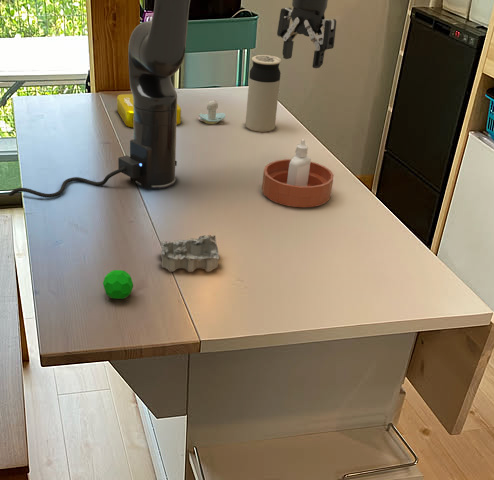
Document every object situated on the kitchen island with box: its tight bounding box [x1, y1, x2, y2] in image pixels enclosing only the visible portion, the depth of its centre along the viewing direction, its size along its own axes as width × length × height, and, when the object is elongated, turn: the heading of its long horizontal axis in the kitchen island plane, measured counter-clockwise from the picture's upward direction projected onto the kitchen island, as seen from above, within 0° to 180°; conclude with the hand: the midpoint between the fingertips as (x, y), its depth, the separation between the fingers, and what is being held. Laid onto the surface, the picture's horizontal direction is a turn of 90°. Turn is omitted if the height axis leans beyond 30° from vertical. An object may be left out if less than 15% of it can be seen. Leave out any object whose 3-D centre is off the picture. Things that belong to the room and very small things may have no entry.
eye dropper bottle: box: [287, 139, 312, 186], centre depth 155 cm, size 4×6×12 cm
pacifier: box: [198, 99, 226, 125], centre depth 192 cm, size 7×6×6 cm
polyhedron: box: [102, 269, 134, 300], centre depth 119 cm, size 5×5×5 cm
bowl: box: [261, 158, 335, 208], centre depth 157 cm, size 15×15×5 cm
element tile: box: [116, 93, 182, 129], centre depth 192 cm, size 15×15×5 cm
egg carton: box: [160, 234, 220, 273], centre depth 130 cm, size 11×8×4 cm
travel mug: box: [244, 54, 282, 133], centre depth 187 cm, size 8×8×18 cm
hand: (301, 63), depth 159 cm, fingers open, 8 cm apart
